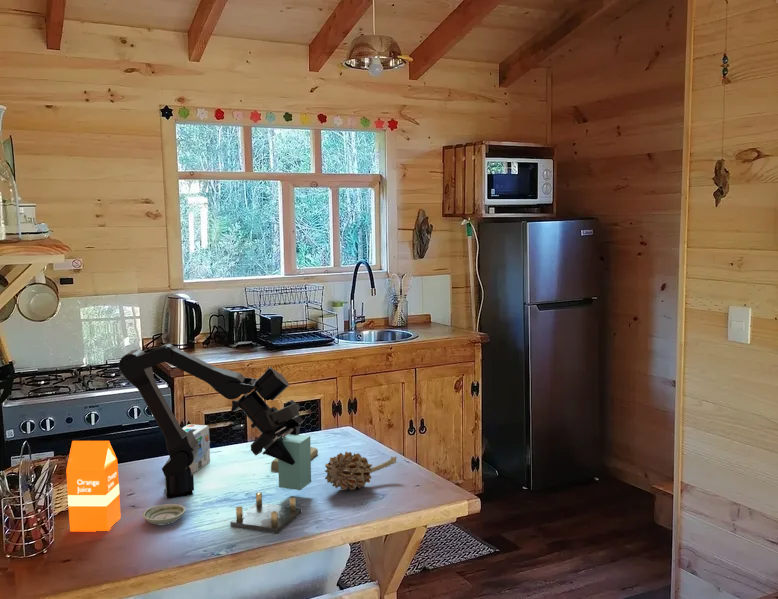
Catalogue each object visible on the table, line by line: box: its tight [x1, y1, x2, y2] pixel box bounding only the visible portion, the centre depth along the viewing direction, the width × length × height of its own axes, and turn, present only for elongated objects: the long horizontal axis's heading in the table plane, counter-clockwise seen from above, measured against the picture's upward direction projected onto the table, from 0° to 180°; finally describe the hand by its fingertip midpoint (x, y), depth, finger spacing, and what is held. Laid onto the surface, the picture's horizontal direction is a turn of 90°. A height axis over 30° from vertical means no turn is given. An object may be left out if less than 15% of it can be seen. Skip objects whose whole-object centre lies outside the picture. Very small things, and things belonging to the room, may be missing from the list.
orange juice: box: [65, 440, 122, 533], centre depth 172 cm, size 8×9×20 cm
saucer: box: [142, 503, 187, 525], centre depth 175 cm, size 10×10×2 cm
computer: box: [270, 446, 319, 471], centre depth 215 cm, size 16×8×3 cm, turn 164°
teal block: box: [278, 434, 312, 491], centre depth 188 cm, size 6×6×12 cm
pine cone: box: [324, 451, 398, 491], centre depth 195 cm, size 22×10×10 cm, turn 129°
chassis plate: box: [230, 492, 302, 535], centre depth 174 cm, size 12×12×4 cm
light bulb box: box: [181, 424, 211, 474], centre depth 212 cm, size 11×7×11 cm, turn 168°
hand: (299, 459), depth 187 cm, fingers closed on teal block, 6 cm apart
